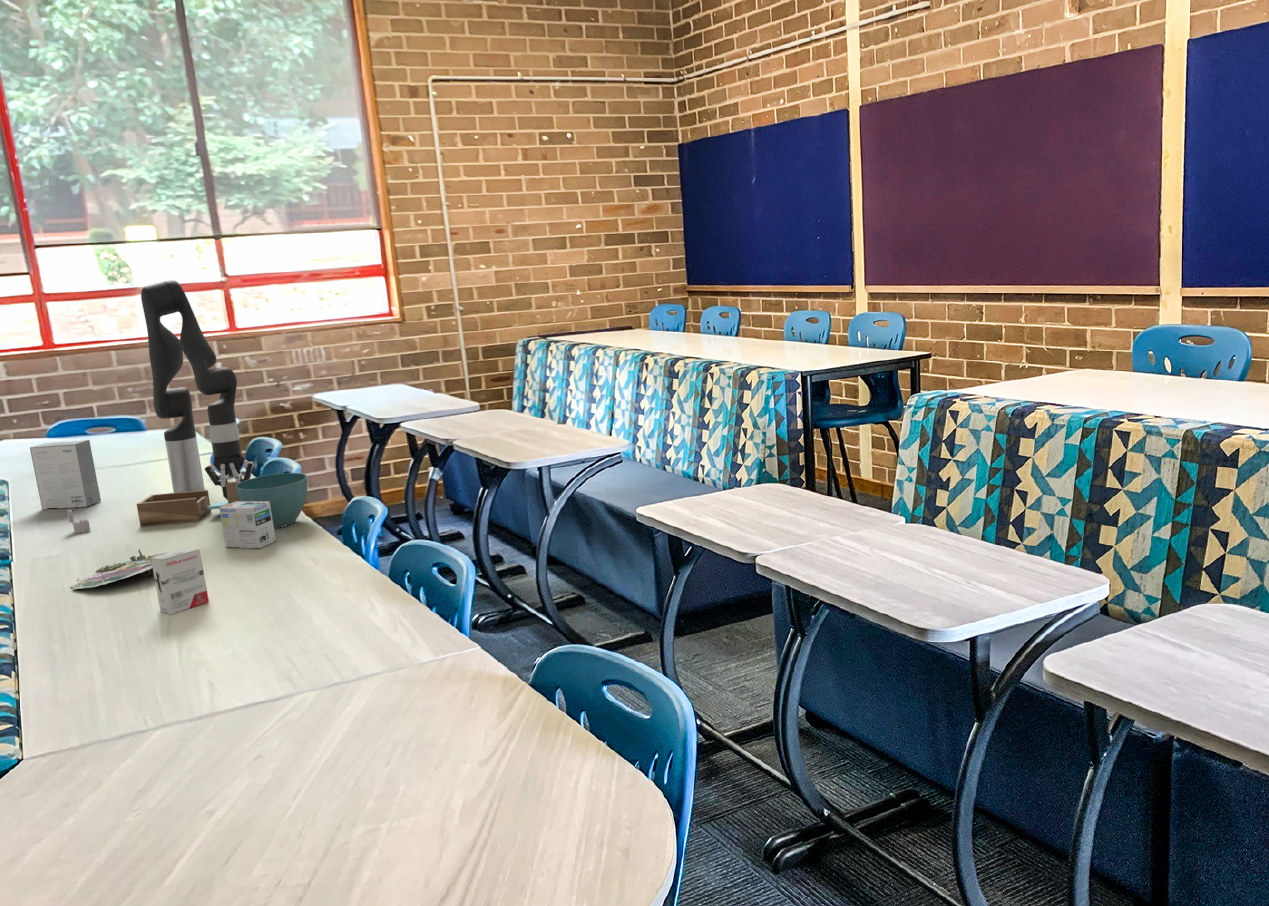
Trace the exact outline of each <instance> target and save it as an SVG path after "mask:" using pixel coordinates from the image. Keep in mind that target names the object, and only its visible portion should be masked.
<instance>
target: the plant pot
mask: <svg viewBox="0 0 1269 906" xmlns="http://www.w3.org/2000/svg"><path fill="white" fill-rule="evenodd" d="M236 490H237V493H238V496H239V499H240V501H241V502H250V501H254V502H267V501H269V502H270V507H271V513H272V520H273V526H274V529H277V528H276V527H281V528H283V527H282V526H285V525H288V524H291V525H293V524H294V523H296V521H297V519H298V517H300V516H299V515H300V514H301V512H302V510H303V508H304V506H305V503H306V500H307V493H308V476H307V474H306V473H305V474H304V473H301V472H284V473H272V474H267V475H262V476H258V477H253V478H252V477H251V478H250V479H248V480H245V481H243V482H240V483H238V484H237V485H236ZM293 522H294V523H293ZM292 523H293V524H292ZM285 527H286V526H285Z"/></svg>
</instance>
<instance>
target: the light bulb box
mask: <svg viewBox="0 0 1269 906" xmlns="http://www.w3.org/2000/svg"><path fill="white" fill-rule="evenodd" d="M219 513H220V519H221V525H222V531H223V539H224V543H225V548H226V547H240V548H239V549H249V548H260V547H262V548H264V547H267V546H269V545H271V544H273V542H274V541H276V542H277V539H276V538H277V537H276V533H275V528H274V526H273V520H272V513H271V507H270V502H269V501H267V502H254V501H250V502H239V501H236V502H233V503H230V504H227V505H225V506H221V507H220V509H219ZM270 543H271V544H270ZM274 543H275V542H274ZM266 545H267V546H266ZM260 549H261V548H260Z"/></svg>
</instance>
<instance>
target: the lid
mask: <svg viewBox="0 0 1269 906" xmlns="http://www.w3.org/2000/svg"><path fill="white" fill-rule="evenodd" d="M236 485H237V483H236V480H232V481H231V480H228V482H226V491H227V499H228V500H226V501H218V502H217V501H216V502H214V503H212V504H210V506H208V507H207V509H208V510H209V509H211V510H218V509H219V510H220V507H221V506H225V505H227V504H230V503H233V502H236V501H239V502H241V501H240V499H239V496H238V493H237V490H236Z"/></svg>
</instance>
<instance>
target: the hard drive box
mask: <svg viewBox="0 0 1269 906" xmlns="http://www.w3.org/2000/svg"><path fill="white" fill-rule="evenodd" d="M29 451H30V455H31V460H32V465H33V471H34V475H35V481H36V486H37V490H38V495H39V501H40V505H41V510H45V509H44V508H58V509H72V508H73V509H75V507H78V508H86V507H89V506H92V505H94V504H96V503H99V502H101V501H102V499H101V493H100V487H99V484H98V483H99V482H98V479H97V472H96V468H95V463H94V462H95V461H94V457H93V451H92V447H91V441H90V439H82V440H81V439H80V440H68V441H67V440H65V441H55V442H54V441H53V442H44V443H41V444H37V445H33V446H30V447H29Z"/></svg>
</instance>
